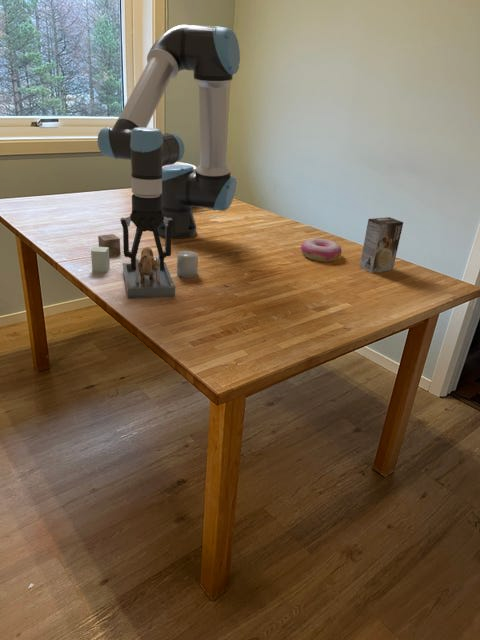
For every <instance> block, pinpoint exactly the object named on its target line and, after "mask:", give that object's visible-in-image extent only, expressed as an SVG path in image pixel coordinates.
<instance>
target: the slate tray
mask: <svg viewBox="0 0 480 640" xmlns="http://www.w3.org/2000/svg"><path fill="white" fill-rule="evenodd" d="M122 270H123V271H122V273H123V277H124V283H125V290H126V294H127V299H140V298H141V299H142V298H143V299H144V298H145V299H146V298H165V297H175V296H176V286H175V284H174V281H173V278H172V276H171V274H170V271H169V268H168V265H167V264H166V261H164V269H160V282H157V280H156V270H154V272H153V279H155V280H154V281H153V282H151V281H150V279H149V275H144V278H145V282H144V283H141V282H140V280H141V276H140V271H139V283H136V279H135V270H132V269H131V262H129V263H128V262H127V263H122Z"/></svg>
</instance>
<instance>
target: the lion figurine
mask: <svg viewBox="0 0 480 640" xmlns="http://www.w3.org/2000/svg"><path fill="white" fill-rule="evenodd" d="M138 266H139V271H140V276H141V280H140V282H141V283H144V282H145V278H144V275H149V279H150V281H151V282H153V281H154V280H155V279H153V272H154V270H156V271H157V270H158V268H159V266H160V264H158V263H157V262H156V259H155V257H154V252H153V249H152V248H150V247H148V246H146V247H144V248H143V249H142V250H141V252H140V260H139V265H138Z"/></svg>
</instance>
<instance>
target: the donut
mask: <svg viewBox="0 0 480 640" xmlns="http://www.w3.org/2000/svg"><path fill="white" fill-rule="evenodd" d="M300 249H301V252H302V254H303V255H304V256H305V257H306V258H308V259H311V260H313V261H316V262H321V263H322V262H325V263H328V262H334V261H336V260H337V259H340V257H341V255H342V251H343V250H342V247H341V245H339V244H338V243H337V242H336V241H334V240H330V239H326V238H309V239H307V240H305V241H303V242H302V244H301V247H300Z"/></svg>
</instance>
